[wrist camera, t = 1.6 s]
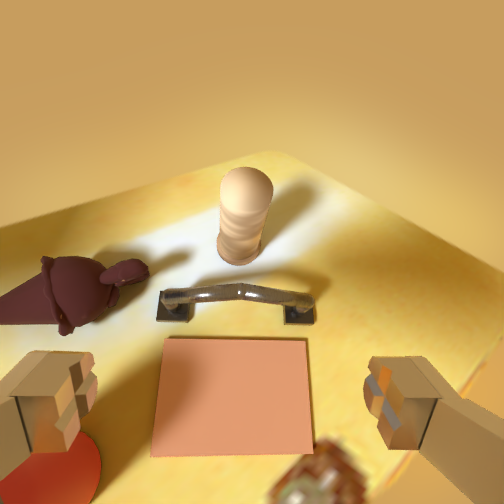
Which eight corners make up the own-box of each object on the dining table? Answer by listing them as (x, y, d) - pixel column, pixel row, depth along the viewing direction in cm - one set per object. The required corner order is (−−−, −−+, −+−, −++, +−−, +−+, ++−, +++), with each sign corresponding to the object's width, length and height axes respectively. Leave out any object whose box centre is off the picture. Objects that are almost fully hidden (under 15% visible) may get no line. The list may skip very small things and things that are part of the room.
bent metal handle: (157, 321, 30) (140, 303, 23) (161, 293, 31) (146, 268, 24) (311, 325, 31) (336, 309, 25) (309, 297, 32) (332, 275, 26)
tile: (151, 455, 25) (150, 457, 24) (165, 339, 29) (164, 338, 28) (311, 452, 26) (313, 453, 26) (303, 341, 30) (305, 340, 30)
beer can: (72, 410, 26) (-34, 427, 15) (121, 469, 24) (43, 535, 14) (-2, 481, 23) (-194, 564, 12) (48, 551, 22) (-119, 712, 11)
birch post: (215, 264, 33) (215, 211, 23) (217, 225, 35) (218, 162, 25) (259, 266, 33) (278, 215, 23) (259, 228, 35) (275, 166, 25)
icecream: (-58, 373, 20) (158, 303, 25) (-78, 273, 21) (135, 224, 26) (-4, 360, 27) (160, 306, 32) (-21, 283, 28) (141, 243, 33)
